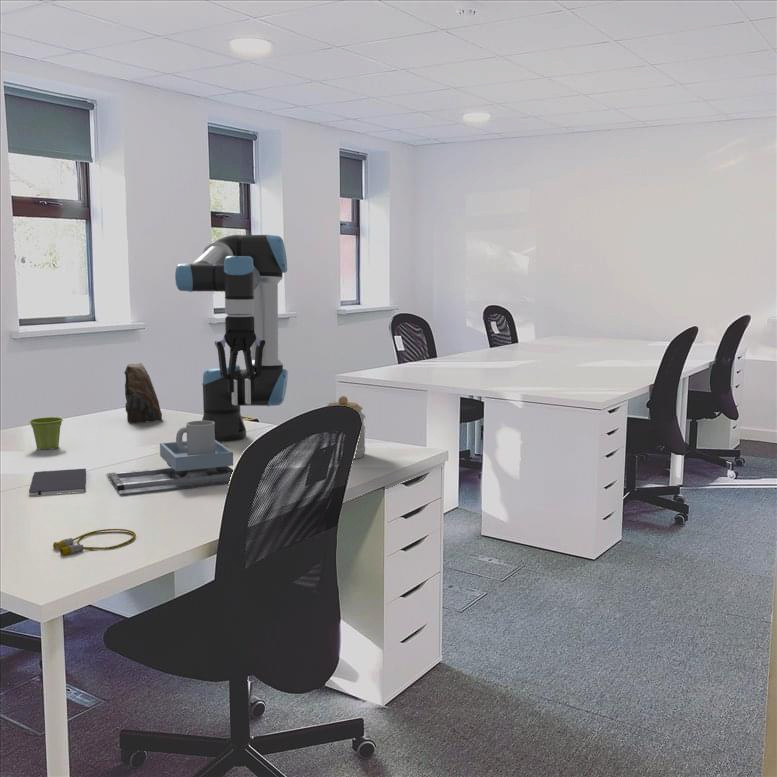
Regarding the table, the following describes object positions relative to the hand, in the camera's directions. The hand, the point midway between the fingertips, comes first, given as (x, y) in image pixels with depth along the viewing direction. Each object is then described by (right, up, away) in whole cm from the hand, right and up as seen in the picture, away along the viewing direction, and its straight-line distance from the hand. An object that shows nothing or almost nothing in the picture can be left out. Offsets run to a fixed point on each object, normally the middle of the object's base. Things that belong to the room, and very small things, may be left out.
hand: (241, 403), depth 222 cm
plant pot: (-64, -14, +31) cm, 72 cm away
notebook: (-44, -21, -11) cm, 50 cm away
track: (-17, -19, -6) cm, 26 cm away
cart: (-11, -17, -3) cm, 21 cm away
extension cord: (-19, -27, -56) cm, 65 cm away
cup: (-11, -14, -3) cm, 18 cm away
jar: (+26, -16, +23) cm, 38 cm away
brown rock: (-49, -7, +78) cm, 92 cm away
